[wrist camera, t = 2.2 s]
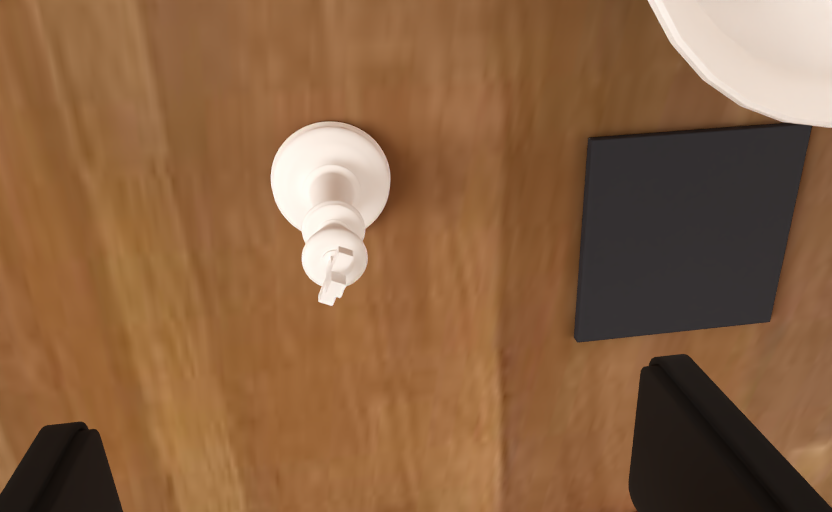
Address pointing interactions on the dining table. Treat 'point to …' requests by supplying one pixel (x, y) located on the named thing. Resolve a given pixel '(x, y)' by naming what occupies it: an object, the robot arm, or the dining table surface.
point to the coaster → (685, 228)
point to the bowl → (758, 52)
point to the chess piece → (331, 199)
